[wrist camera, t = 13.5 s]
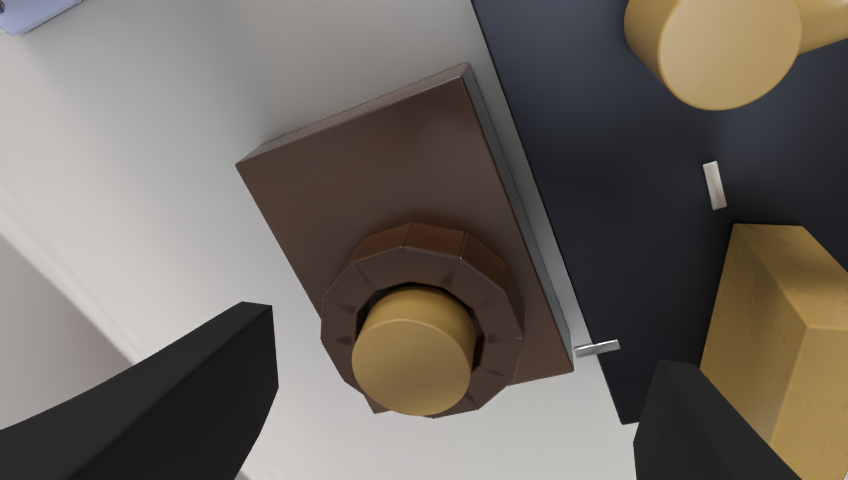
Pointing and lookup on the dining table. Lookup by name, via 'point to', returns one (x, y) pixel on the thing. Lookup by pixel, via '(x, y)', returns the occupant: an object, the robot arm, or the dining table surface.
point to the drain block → (414, 227)
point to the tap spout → (728, 44)
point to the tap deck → (659, 175)
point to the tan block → (784, 345)
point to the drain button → (415, 351)
